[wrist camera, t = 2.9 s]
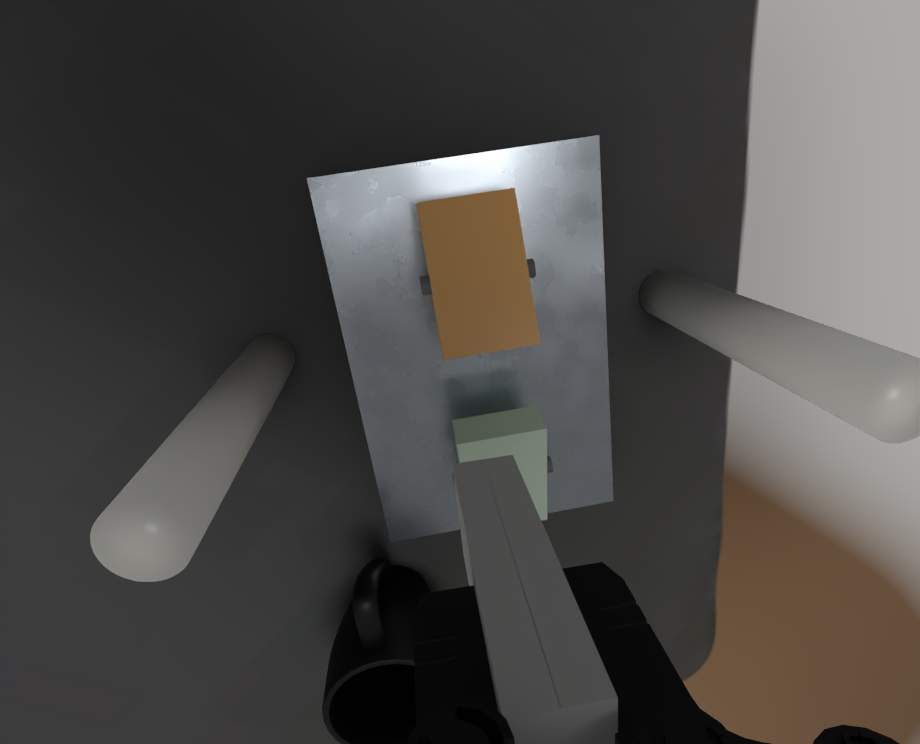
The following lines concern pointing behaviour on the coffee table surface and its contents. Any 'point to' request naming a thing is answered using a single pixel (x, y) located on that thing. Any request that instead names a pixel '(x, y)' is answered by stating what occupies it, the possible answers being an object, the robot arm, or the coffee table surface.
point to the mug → (375, 659)
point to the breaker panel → (484, 375)
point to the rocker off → (478, 273)
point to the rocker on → (509, 446)
